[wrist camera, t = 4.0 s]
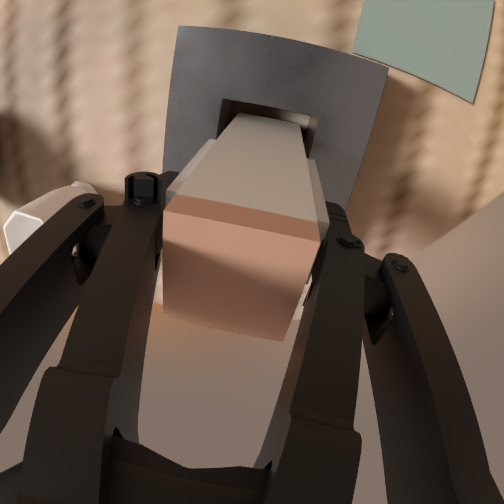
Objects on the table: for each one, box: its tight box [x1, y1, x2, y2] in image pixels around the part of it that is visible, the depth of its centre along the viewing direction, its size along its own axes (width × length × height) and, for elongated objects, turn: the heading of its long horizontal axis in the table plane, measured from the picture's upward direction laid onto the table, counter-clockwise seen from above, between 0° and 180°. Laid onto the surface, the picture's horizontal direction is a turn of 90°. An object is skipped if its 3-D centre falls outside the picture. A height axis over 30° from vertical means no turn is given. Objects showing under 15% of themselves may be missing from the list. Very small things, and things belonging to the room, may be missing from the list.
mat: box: [352, 0, 494, 103], centre depth 14 cm, size 10×10×1 cm
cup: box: [3, 181, 99, 255], centre depth 23 cm, size 7×10×8 cm
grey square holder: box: [162, 26, 389, 211], centre depth 20 cm, size 14×12×4 cm
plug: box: [163, 112, 321, 341], centre depth 15 cm, size 4×4×14 cm
